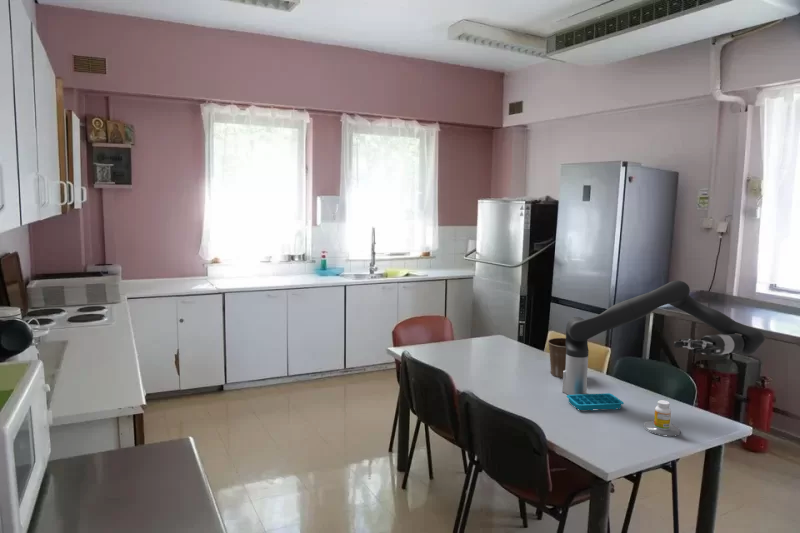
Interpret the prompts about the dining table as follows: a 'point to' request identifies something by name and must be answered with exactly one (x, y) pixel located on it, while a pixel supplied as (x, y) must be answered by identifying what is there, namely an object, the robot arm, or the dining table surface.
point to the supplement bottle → (662, 415)
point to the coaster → (671, 432)
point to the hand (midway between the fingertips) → (683, 347)
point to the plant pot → (557, 356)
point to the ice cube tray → (595, 401)
